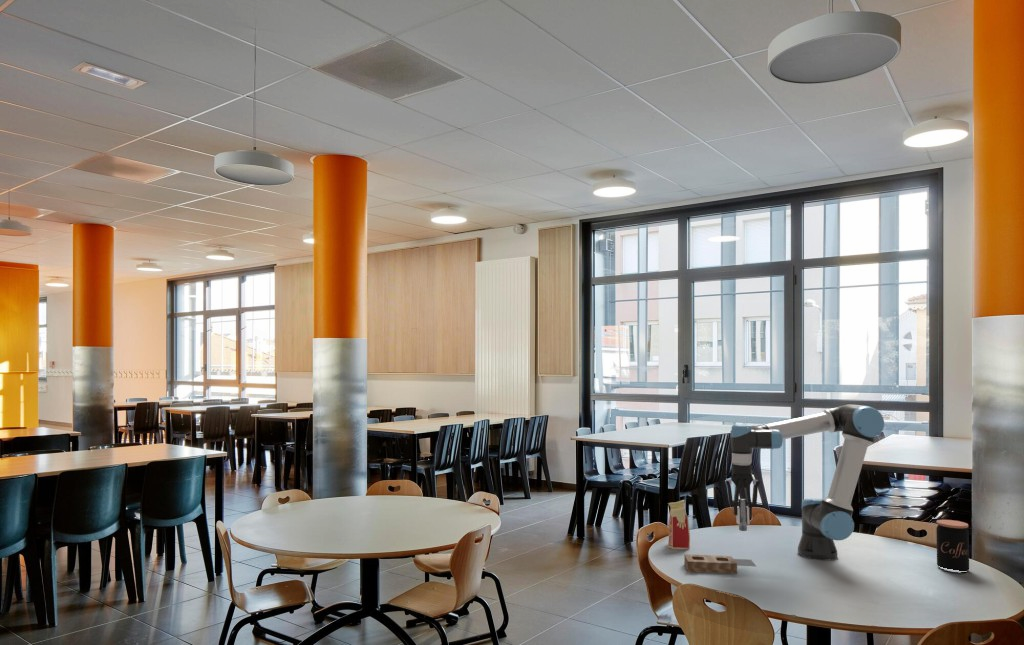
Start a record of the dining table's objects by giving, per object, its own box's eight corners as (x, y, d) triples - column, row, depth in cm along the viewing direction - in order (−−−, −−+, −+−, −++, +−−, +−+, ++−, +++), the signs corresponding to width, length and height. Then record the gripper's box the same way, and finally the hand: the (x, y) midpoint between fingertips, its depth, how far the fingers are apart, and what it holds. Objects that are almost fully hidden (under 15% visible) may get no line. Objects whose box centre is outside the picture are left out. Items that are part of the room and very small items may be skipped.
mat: (751, 560, 278) (751, 559, 278) (756, 567, 269) (756, 566, 269) (728, 559, 279) (728, 558, 279) (732, 566, 270) (732, 565, 270)
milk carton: (687, 544, 301) (687, 497, 302) (690, 550, 292) (690, 502, 293) (666, 543, 302) (666, 497, 303) (668, 549, 293) (669, 501, 294)
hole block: (731, 566, 270) (731, 556, 270) (737, 574, 260) (737, 563, 260) (684, 564, 272) (684, 554, 272) (688, 572, 262) (688, 561, 262)
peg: (746, 529, 276) (745, 498, 277) (747, 531, 273) (747, 500, 274) (738, 529, 276) (737, 498, 277) (740, 530, 273) (739, 500, 274)
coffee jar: (938, 570, 268) (937, 523, 269) (936, 563, 277) (935, 518, 278) (971, 575, 263) (970, 527, 264) (967, 568, 272) (966, 521, 273)
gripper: (760, 462, 279) (761, 521, 278) (719, 462, 281) (720, 520, 279) (764, 465, 271) (766, 526, 270) (722, 464, 273) (724, 525, 272)
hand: (742, 523), depth 275 cm, fingers closed on peg, 3 cm apart
